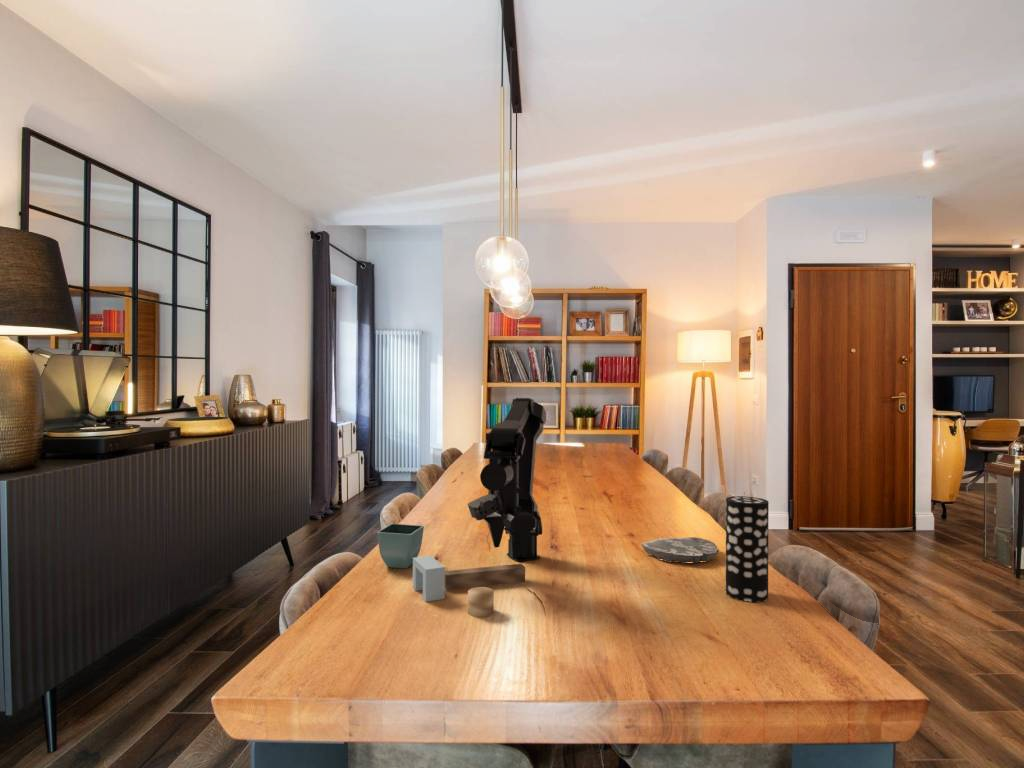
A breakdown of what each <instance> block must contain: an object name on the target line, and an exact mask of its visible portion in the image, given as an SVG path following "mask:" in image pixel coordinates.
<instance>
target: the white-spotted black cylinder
mask: <svg viewBox="0 0 1024 768" xmlns="http://www.w3.org/2000/svg"><path fill="white" fill-rule="evenodd" d="M725 595H727V596H728V595H729V596H730V597H729V596H728V597H729V598H731V597H732V598H731V599H734V598H735V599H734V600H736V599H738V600H737V601H740V600H742V602H745V601H749V602H748V603H758V602H757V601H763V602H765V601H764V600H766V599H767V598H768V599H769V500H767V499H765V498H761V497H754V496H743V495H741V496H739V495H736V496H735V495H734V496H728V497H726V498H725ZM768 599H767V600H768ZM767 600H766V601H767Z"/></svg>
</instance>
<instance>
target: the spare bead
mask: <svg viewBox="0 0 1024 768" xmlns="http://www.w3.org/2000/svg"><path fill="white" fill-rule="evenodd" d="M494 591H495V590H494V589H493V588H490V587H488V586H485V587H476V588H469V590H467V614H468V615H469V616H471V617H473V618H475V617H476V618H486V617H490V616H492V615H493V614H494V611H495V609H494V608H495V605H494V604H495V599H494V598H495V592H494Z"/></svg>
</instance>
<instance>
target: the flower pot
mask: <svg viewBox="0 0 1024 768" xmlns="http://www.w3.org/2000/svg"><path fill="white" fill-rule="evenodd" d="M424 527H425V526H424V525H420V524H417V525H416V524H405V523H404V524H402V523H390V524H388V525H387V526H385V527H383V528H382V529H379V530H378V531H377V532H376V534H377V540H378V541H377V542H378V549H379V550H378V551H379V554H380V558H381V559H382V561H383V563H384V564H385V566H386V567H387V568H397V569H408V568H409V567H410V566H411V565H413V558H415V557H419V554H420V551H421V548H422V544H423V543H422V542H423V538H424V537H423V535H424Z"/></svg>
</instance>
